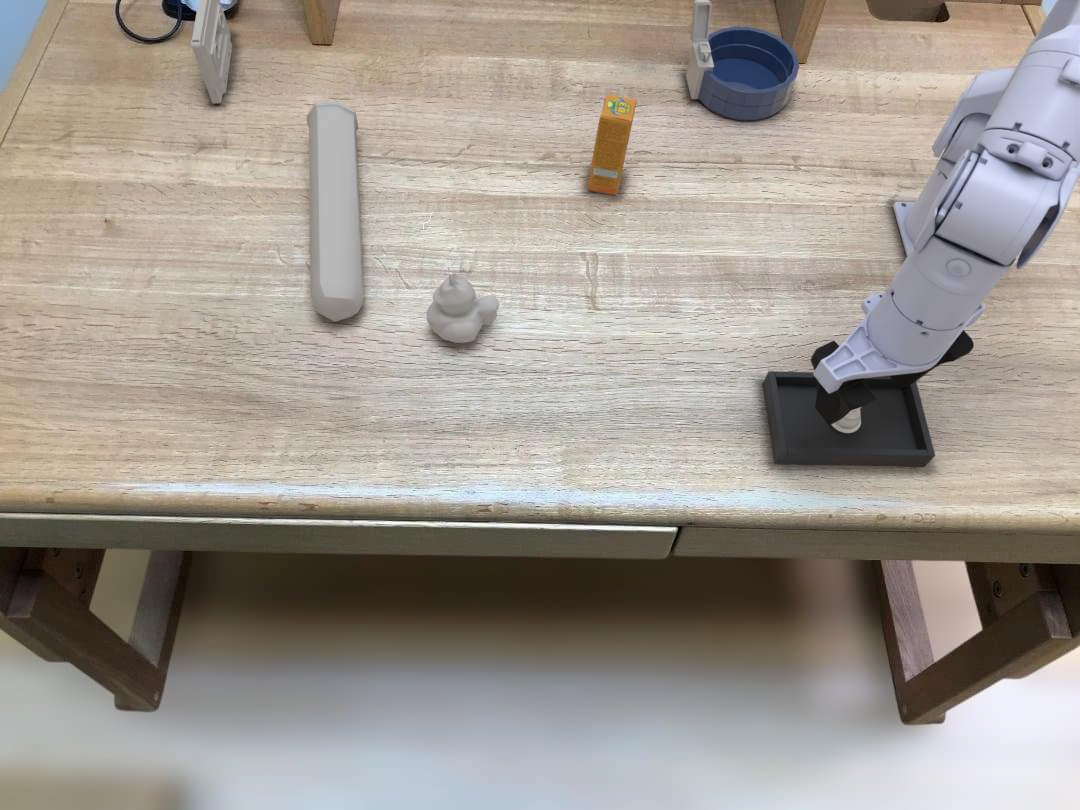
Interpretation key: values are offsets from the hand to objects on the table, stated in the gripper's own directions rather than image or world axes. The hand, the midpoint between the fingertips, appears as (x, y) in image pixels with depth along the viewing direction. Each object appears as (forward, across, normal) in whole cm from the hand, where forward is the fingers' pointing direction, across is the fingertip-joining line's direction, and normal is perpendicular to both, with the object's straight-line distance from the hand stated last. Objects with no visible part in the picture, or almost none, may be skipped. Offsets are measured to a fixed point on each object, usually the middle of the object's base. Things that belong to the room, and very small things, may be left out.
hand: (861, 396), depth 72 cm
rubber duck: (+5, +26, -24) cm, 36 cm away
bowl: (+5, -17, -41) cm, 44 cm away
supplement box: (+5, +4, -35) cm, 35 cm away
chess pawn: (+4, 0, 0) cm, 4 cm away
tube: (+5, +31, -41) cm, 52 cm away
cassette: (+5, +35, -69) cm, 77 cm away
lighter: (+6, -13, -43) cm, 45 cm away
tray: (+5, 0, 0) cm, 5 cm away
